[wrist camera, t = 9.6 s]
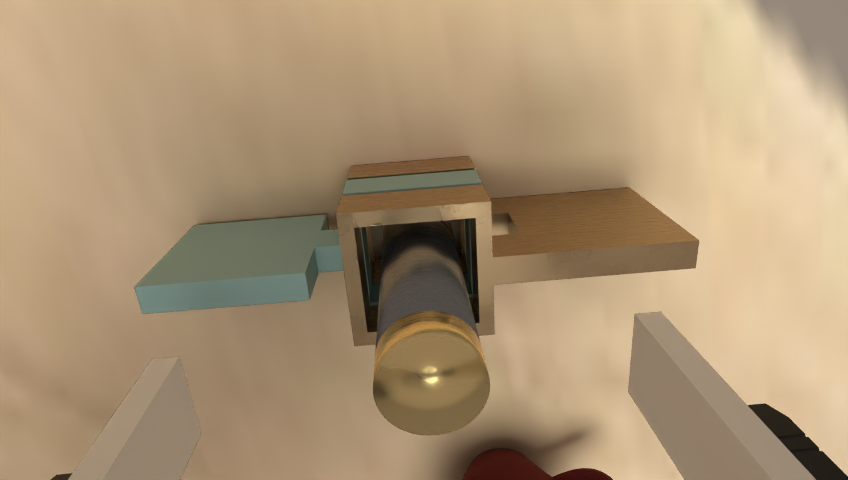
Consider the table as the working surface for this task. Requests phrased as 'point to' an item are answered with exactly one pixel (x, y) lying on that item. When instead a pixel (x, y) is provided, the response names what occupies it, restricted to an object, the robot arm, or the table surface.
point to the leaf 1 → (271, 255)
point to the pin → (426, 334)
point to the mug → (520, 468)
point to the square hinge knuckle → (509, 236)
